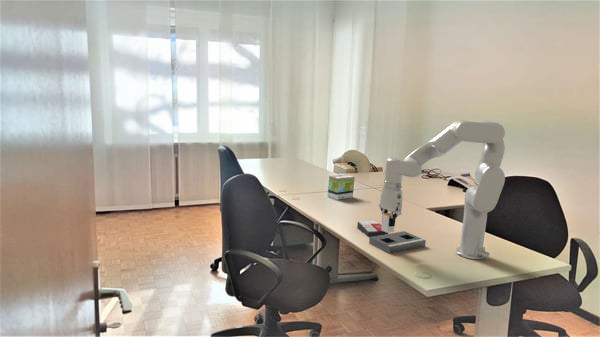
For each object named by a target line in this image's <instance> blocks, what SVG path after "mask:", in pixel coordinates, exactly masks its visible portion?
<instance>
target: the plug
mask: <svg viewBox="0 0 600 337" xmlns="http://www.w3.org/2000/svg"><path fill="white" fill-rule="evenodd" d="M393 215H394V213H393ZM390 218H391V213H390V212H388V213H383V218H381V225H382V228H381V230H382V231H384V232H386V233H388V234H391V233H395V226H392V227H389V219H390Z"/></svg>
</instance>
